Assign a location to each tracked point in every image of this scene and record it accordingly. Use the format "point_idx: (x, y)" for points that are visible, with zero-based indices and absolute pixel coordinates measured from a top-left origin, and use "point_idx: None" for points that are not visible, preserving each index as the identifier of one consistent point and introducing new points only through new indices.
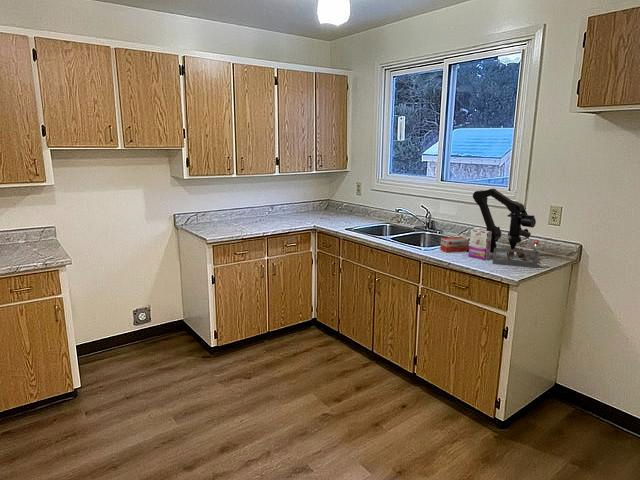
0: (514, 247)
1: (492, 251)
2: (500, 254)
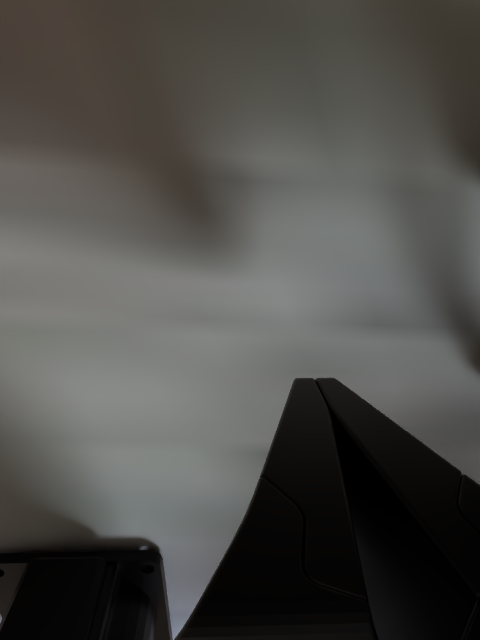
0: (410, 448)
1: (138, 590)
2: (213, 486)
